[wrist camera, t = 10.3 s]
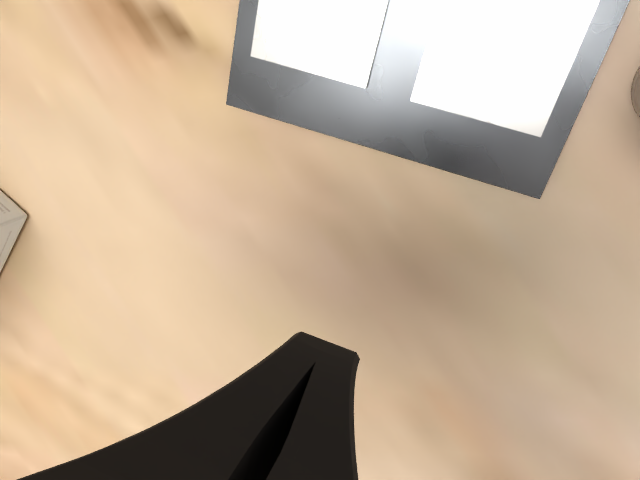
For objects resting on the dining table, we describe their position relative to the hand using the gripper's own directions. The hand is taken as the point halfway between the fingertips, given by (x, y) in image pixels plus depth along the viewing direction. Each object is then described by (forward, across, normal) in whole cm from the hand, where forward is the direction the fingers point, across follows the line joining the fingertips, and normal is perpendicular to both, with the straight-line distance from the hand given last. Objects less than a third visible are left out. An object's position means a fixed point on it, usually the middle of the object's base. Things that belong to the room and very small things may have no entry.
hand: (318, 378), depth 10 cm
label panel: (+10, +2, -8) cm, 13 cm away
